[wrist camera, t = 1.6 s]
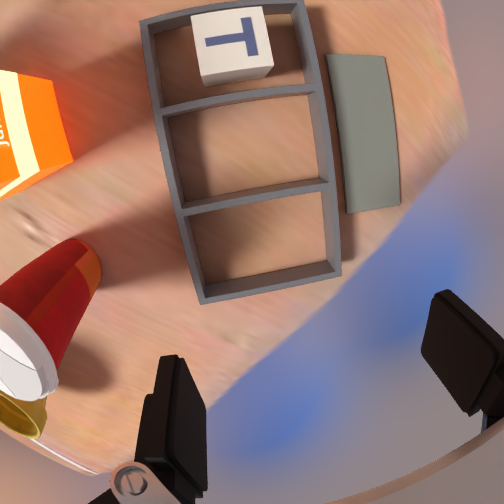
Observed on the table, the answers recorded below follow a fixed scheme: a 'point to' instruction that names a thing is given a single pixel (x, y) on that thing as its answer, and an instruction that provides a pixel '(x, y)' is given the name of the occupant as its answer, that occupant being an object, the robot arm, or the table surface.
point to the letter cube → (232, 45)
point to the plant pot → (23, 415)
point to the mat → (365, 131)
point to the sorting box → (272, 3)
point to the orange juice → (29, 132)
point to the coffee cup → (43, 316)
